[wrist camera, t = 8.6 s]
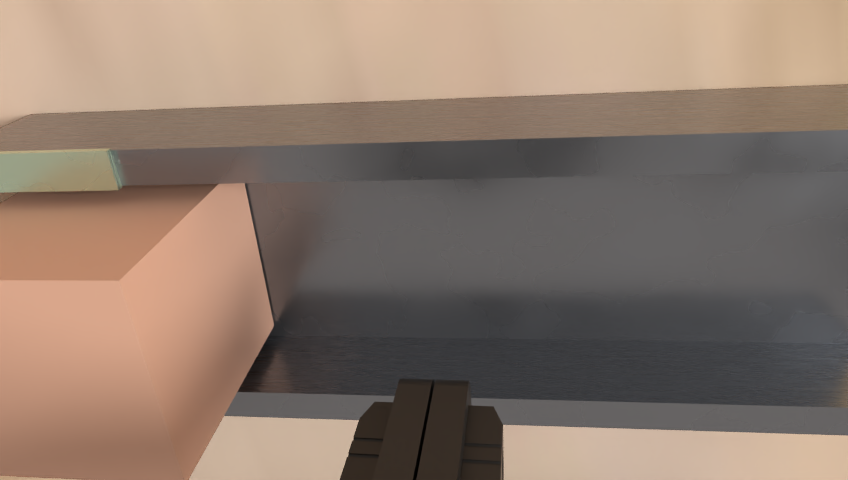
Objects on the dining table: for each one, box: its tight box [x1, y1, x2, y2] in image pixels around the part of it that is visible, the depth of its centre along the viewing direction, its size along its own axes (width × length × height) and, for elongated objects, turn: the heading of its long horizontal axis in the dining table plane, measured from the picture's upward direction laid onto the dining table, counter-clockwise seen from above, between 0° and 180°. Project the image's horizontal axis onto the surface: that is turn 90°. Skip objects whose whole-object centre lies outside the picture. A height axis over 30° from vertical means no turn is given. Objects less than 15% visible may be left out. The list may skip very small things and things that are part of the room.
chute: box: [0, 85, 848, 435], centre depth 20 cm, size 26×9×4 cm, turn 94°
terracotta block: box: [0, 183, 274, 480], centre depth 19 cm, size 6×6×7 cm
